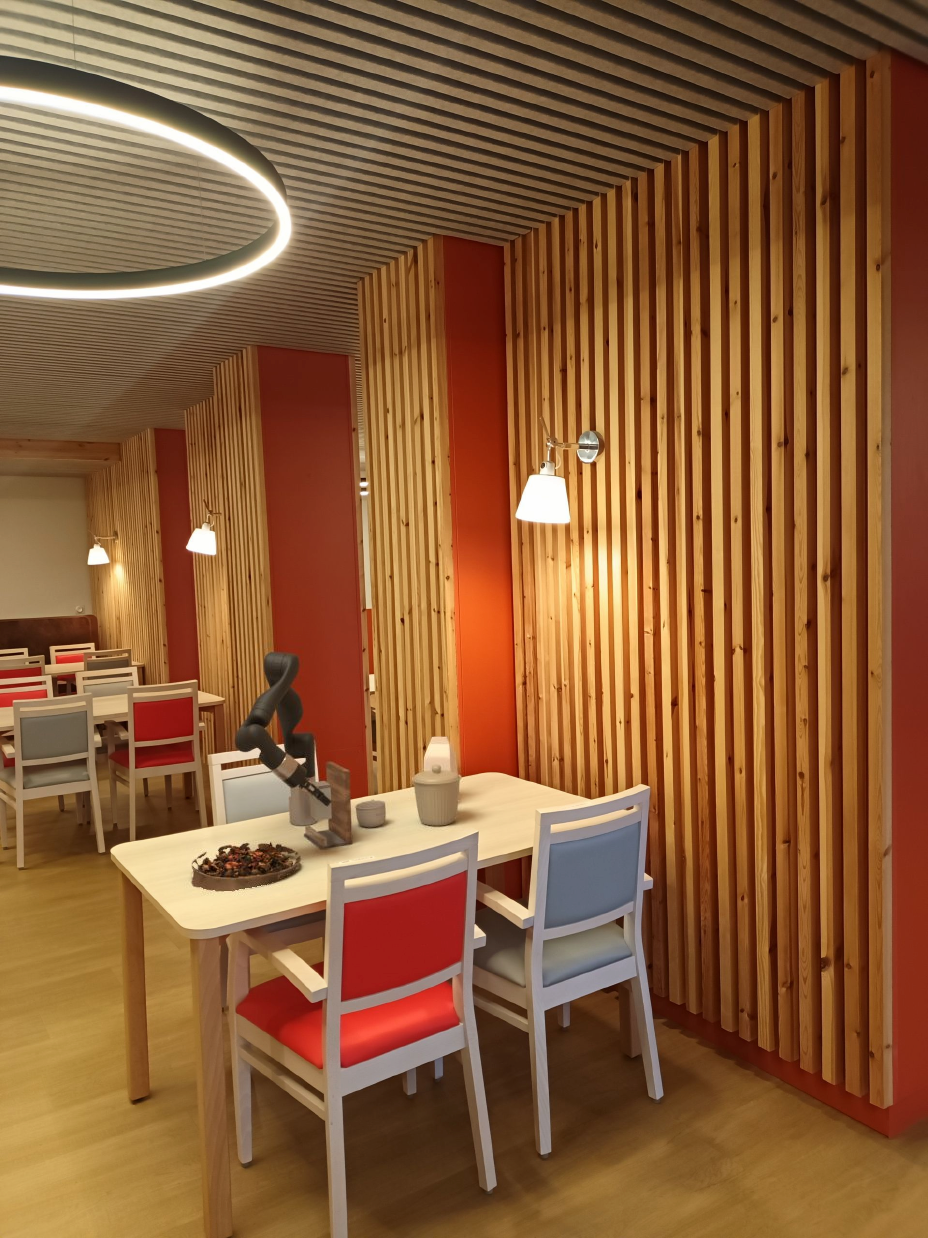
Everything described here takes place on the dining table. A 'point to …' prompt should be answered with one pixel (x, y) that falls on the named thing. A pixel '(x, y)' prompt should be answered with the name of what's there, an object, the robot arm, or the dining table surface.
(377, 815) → the teacup
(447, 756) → the milk
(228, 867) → the food dish
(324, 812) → the grey box
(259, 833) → the dining table surface
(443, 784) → the canister
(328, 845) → the wall board
